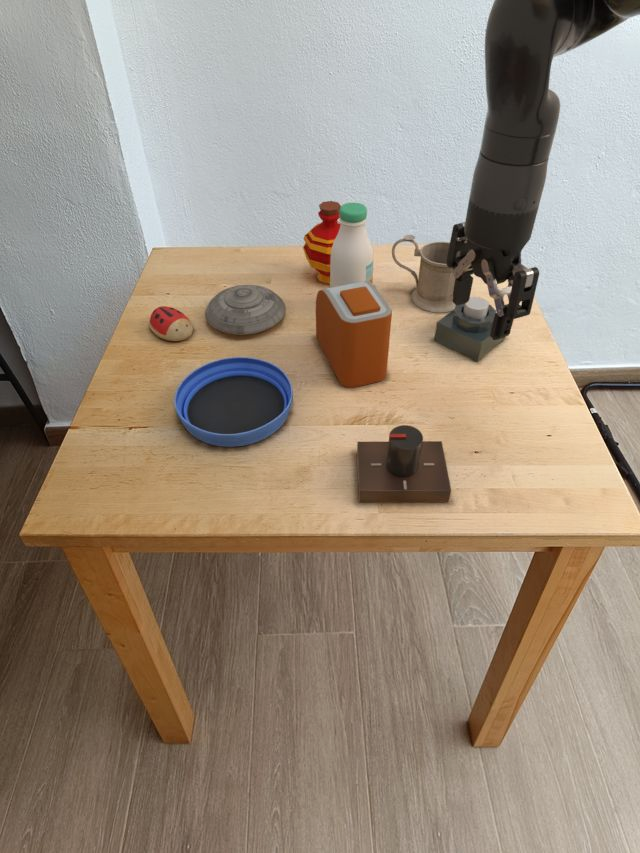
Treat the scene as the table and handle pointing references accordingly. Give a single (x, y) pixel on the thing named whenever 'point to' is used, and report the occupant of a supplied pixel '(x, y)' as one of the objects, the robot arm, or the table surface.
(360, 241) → the milk bottle
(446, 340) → the push button base
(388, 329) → the alarm clock
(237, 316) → the flying saucer
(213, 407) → the bowl
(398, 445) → the dial
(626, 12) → the robot arm
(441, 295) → the mug
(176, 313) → the ladybug figurine
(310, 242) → the potion bottle
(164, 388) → the table surface
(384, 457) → the dial panel
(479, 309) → the grey push button
